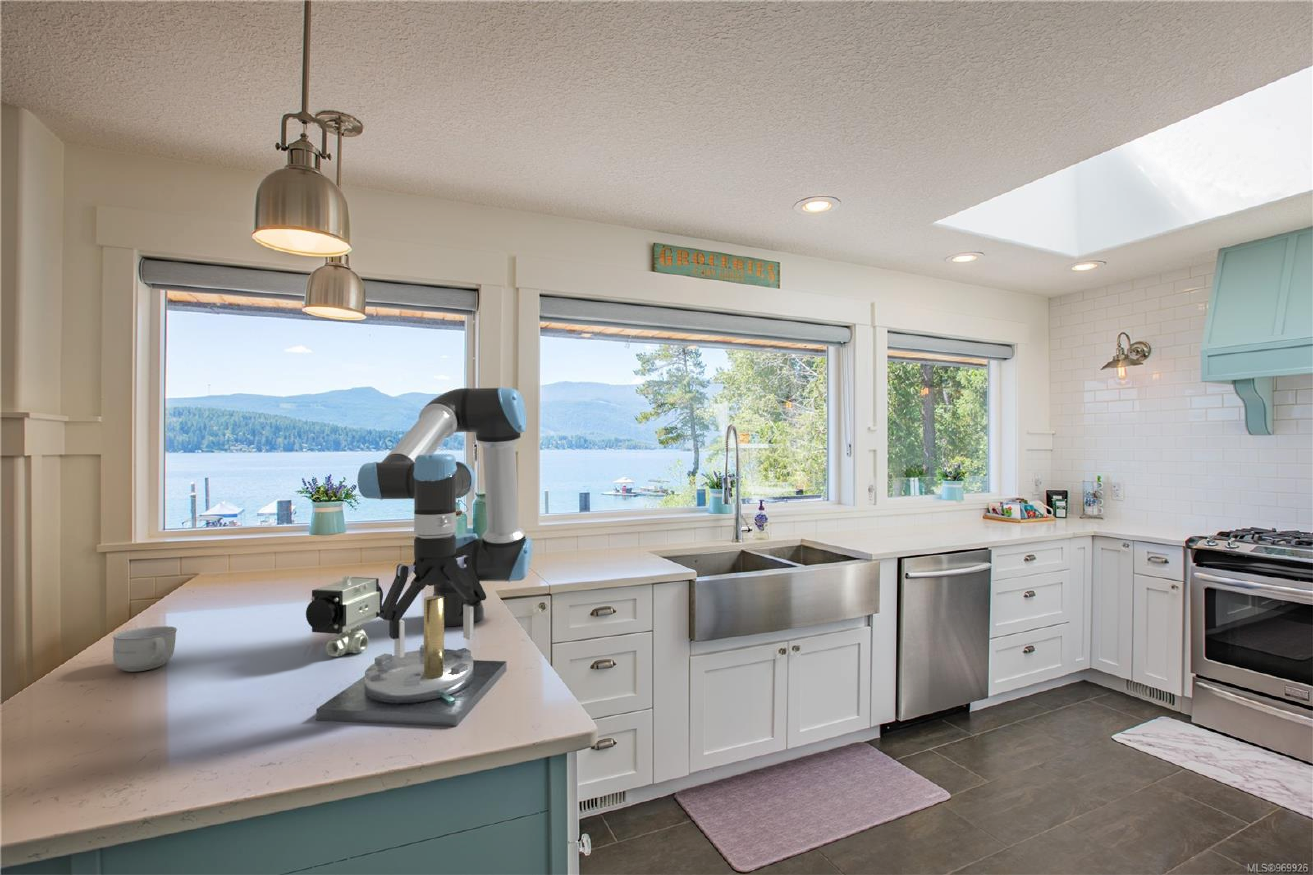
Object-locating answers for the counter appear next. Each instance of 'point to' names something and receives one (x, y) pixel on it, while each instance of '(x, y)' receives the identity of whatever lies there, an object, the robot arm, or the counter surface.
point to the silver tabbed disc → (421, 665)
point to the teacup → (143, 647)
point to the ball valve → (345, 612)
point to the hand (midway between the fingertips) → (435, 646)
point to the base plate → (430, 712)
